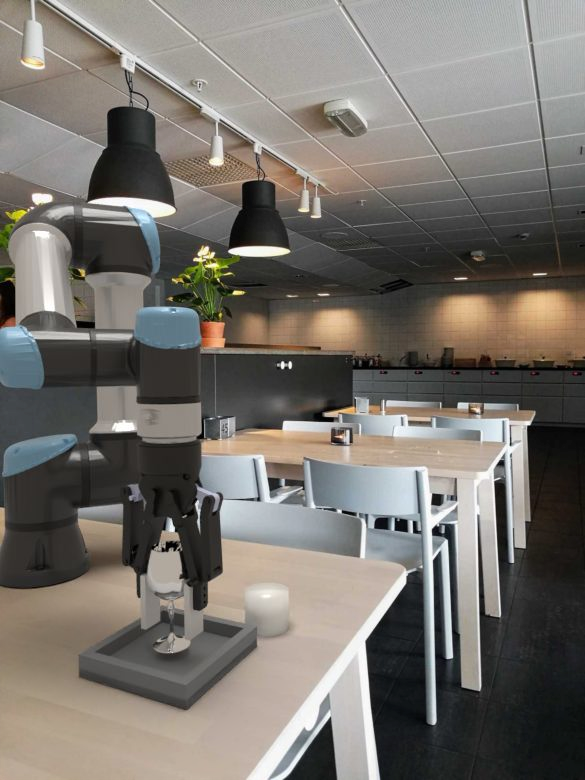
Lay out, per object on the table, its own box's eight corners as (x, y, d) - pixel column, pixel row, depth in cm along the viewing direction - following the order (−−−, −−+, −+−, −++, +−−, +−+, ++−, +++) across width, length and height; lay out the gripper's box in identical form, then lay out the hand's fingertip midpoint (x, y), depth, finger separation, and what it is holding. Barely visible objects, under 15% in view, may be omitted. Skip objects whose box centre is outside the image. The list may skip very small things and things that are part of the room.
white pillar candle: (236, 631, 78) (236, 595, 77) (258, 614, 83) (258, 579, 83) (276, 640, 75) (276, 602, 75) (296, 622, 80) (296, 586, 80)
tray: (79, 676, 66) (78, 654, 66) (162, 623, 80) (161, 605, 80) (186, 709, 60) (186, 685, 60) (257, 646, 73) (256, 626, 73)
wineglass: (142, 639, 71) (140, 543, 71) (187, 629, 74) (186, 536, 73) (154, 661, 66) (152, 557, 65) (202, 649, 69) (201, 549, 68)
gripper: (86, 438, 69) (90, 627, 70) (218, 447, 61) (220, 660, 62) (129, 431, 76) (132, 604, 77) (253, 438, 68) (255, 631, 69)
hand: (172, 629), depth 70 cm, fingers closed on wineglass, 6 cm apart
